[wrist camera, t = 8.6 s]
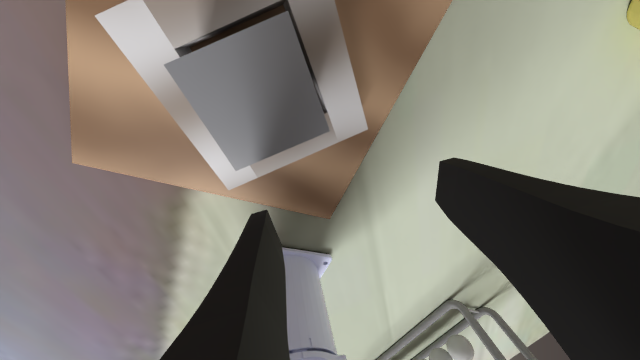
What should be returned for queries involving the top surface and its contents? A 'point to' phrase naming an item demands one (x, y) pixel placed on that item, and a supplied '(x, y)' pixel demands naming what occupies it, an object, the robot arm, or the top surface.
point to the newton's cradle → (458, 336)
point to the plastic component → (634, 14)
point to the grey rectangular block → (253, 91)
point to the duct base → (174, 158)
